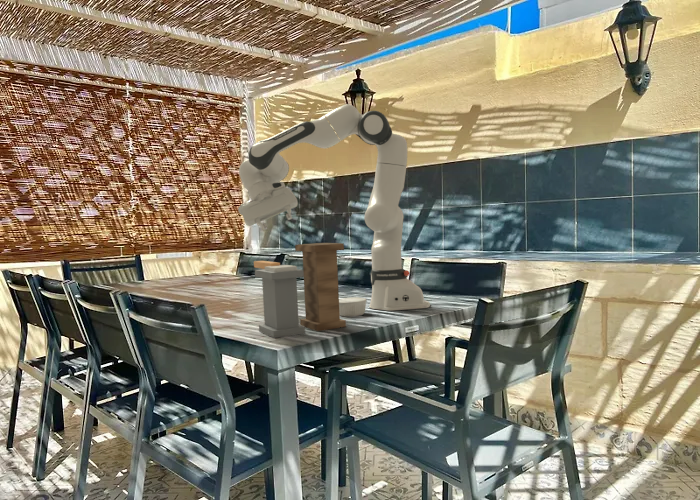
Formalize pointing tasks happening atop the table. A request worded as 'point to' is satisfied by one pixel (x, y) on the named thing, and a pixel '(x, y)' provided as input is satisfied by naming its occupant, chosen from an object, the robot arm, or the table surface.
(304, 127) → the robot arm
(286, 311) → the low stand
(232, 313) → the table surface
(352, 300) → the ramekin
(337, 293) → the tall stand
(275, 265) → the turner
